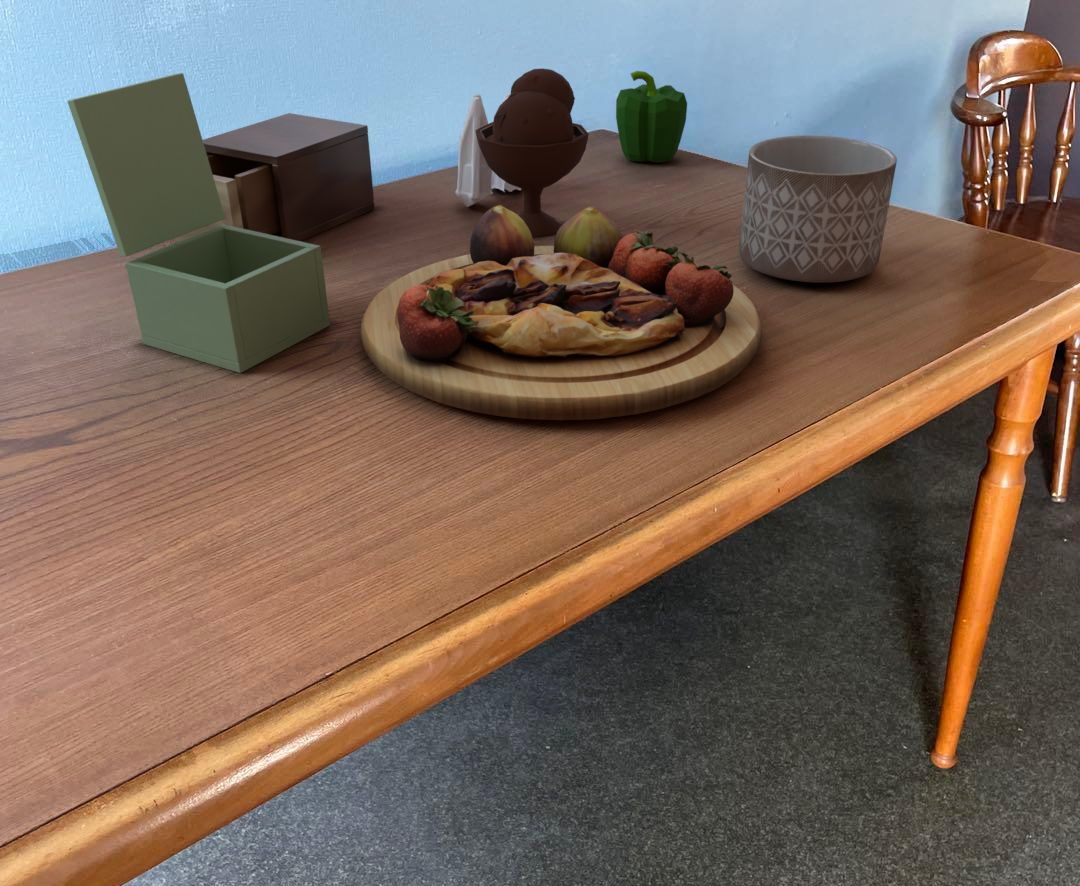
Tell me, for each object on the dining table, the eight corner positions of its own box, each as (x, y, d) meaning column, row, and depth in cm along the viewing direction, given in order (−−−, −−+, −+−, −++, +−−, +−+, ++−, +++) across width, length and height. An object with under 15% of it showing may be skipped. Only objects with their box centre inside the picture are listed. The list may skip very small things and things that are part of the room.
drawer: (205, 269, 99) (191, 194, 95) (133, 251, 103) (117, 178, 99) (325, 218, 111) (317, 150, 107) (256, 204, 115) (246, 137, 111)
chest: (330, 325, 91) (320, 245, 87) (240, 373, 83) (225, 288, 79) (236, 300, 95) (223, 223, 91) (143, 344, 88) (124, 262, 84)
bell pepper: (687, 151, 134) (694, 65, 129) (679, 170, 128) (685, 79, 122) (620, 147, 136) (623, 61, 130) (608, 165, 130) (611, 76, 124)
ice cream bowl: (487, 209, 116) (483, 58, 108) (591, 213, 115) (595, 61, 106) (468, 242, 107) (462, 81, 99) (581, 247, 106) (584, 84, 98)
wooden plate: (448, 470, 71) (441, 354, 67) (315, 301, 95) (303, 207, 90) (842, 376, 82) (860, 271, 78) (635, 246, 106) (639, 160, 102)
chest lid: (183, 72, 86) (146, 77, 88) (73, 99, 78) (36, 103, 80) (225, 218, 91) (190, 219, 93) (126, 256, 84) (90, 256, 86)
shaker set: (478, 217, 114) (474, 106, 108) (444, 211, 116) (438, 101, 109) (533, 186, 123) (532, 82, 116) (501, 181, 124) (498, 78, 118)
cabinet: (289, 246, 107) (276, 156, 102) (210, 228, 111) (194, 141, 106) (375, 208, 116) (367, 125, 111) (299, 193, 121) (289, 112, 116)
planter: (905, 279, 99) (928, 162, 93) (792, 303, 94) (808, 182, 88) (818, 237, 108) (833, 129, 102) (711, 257, 104) (721, 145, 98)
